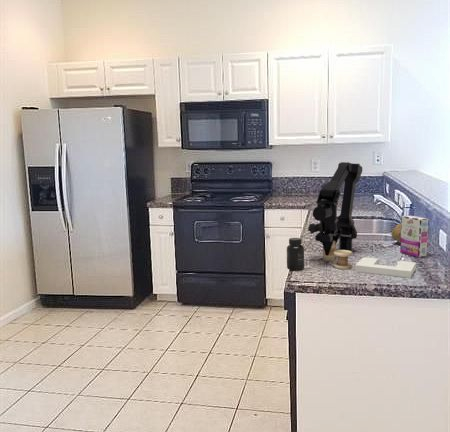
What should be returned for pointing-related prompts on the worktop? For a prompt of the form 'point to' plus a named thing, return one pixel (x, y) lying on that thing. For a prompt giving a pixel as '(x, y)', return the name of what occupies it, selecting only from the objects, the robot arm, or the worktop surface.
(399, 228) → the natural sponge
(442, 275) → the worktop surface
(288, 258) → the supplement bottle
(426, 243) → the candy bar box
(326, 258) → the copper spool
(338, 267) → the bobbin
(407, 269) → the notched board
